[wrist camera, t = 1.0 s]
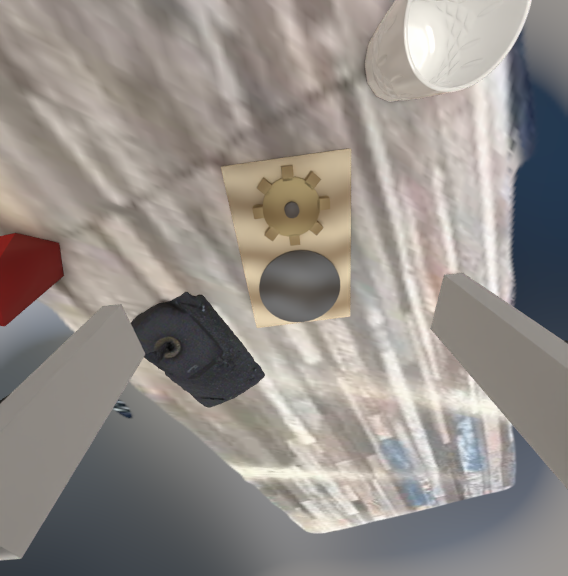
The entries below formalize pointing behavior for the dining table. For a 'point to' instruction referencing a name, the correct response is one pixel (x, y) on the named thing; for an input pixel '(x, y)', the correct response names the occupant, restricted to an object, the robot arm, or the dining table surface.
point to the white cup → (440, 45)
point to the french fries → (26, 272)
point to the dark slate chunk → (196, 349)
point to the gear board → (270, 249)
